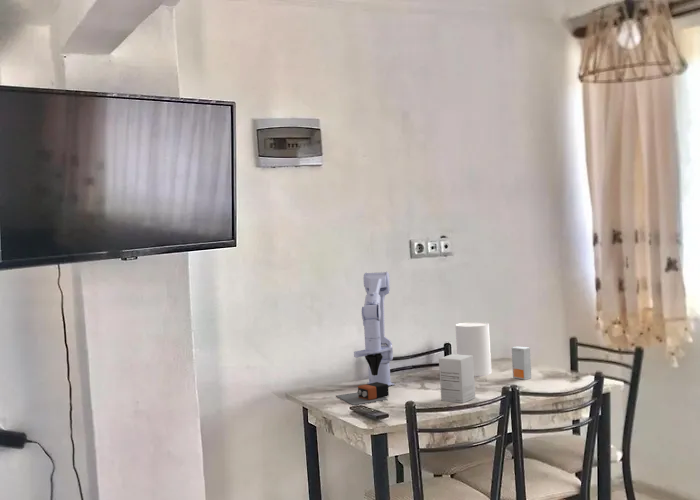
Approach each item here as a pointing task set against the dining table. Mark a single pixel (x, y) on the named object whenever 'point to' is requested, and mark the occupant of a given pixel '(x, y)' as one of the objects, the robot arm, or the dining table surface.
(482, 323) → the canister
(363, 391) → the battery
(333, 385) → the dining table surface
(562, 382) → the dining table surface
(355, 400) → the mat
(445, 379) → the supplement box
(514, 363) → the skincare box
